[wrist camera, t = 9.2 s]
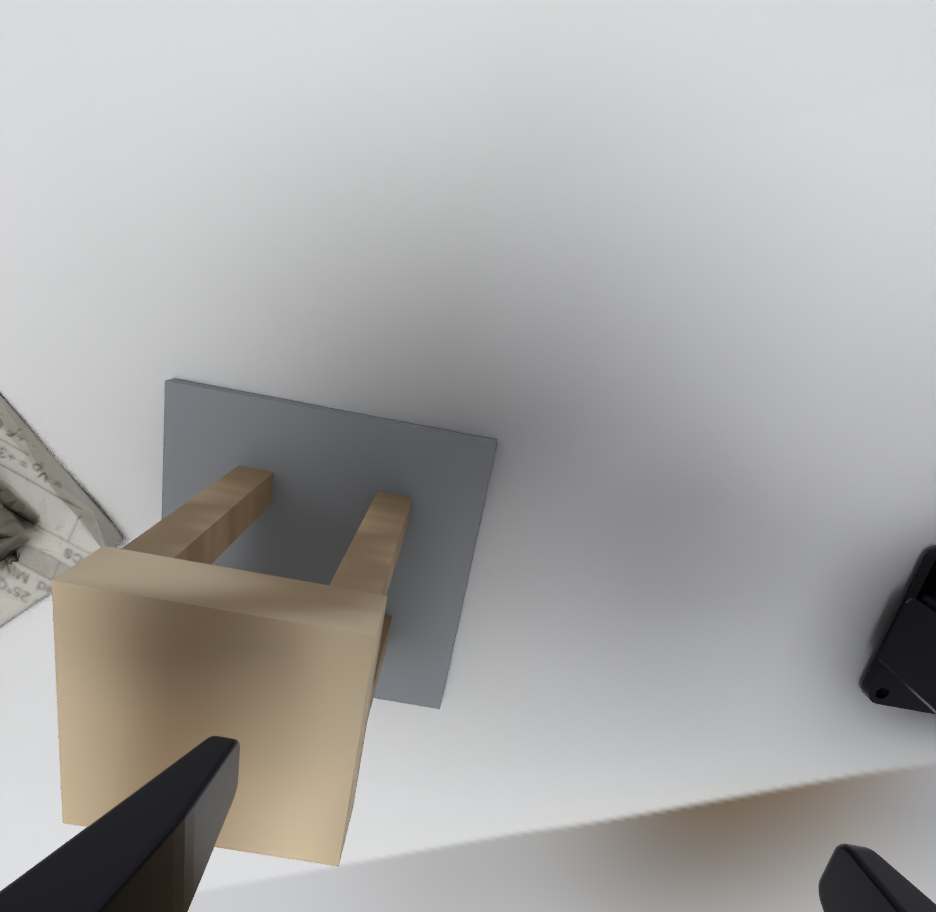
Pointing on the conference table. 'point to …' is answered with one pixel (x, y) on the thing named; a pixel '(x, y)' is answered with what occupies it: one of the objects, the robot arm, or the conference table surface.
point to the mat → (342, 507)
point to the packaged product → (40, 518)
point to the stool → (224, 669)
